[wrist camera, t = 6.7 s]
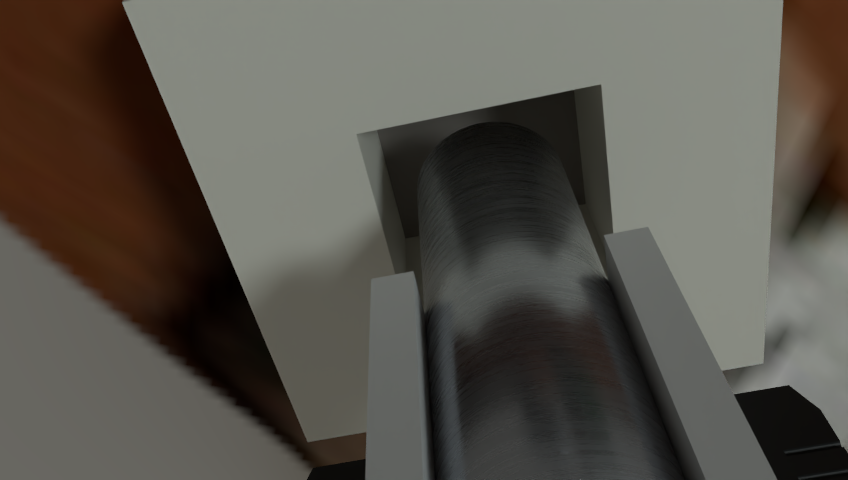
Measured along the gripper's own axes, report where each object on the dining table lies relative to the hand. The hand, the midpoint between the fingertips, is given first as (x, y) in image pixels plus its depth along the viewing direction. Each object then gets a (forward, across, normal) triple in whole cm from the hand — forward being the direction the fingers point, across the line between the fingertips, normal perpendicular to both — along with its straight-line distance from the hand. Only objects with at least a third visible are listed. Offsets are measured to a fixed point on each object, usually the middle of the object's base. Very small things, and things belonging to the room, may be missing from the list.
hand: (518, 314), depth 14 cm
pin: (+5, 0, 0) cm, 5 cm away
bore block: (+8, 0, 0) cm, 8 cm away
